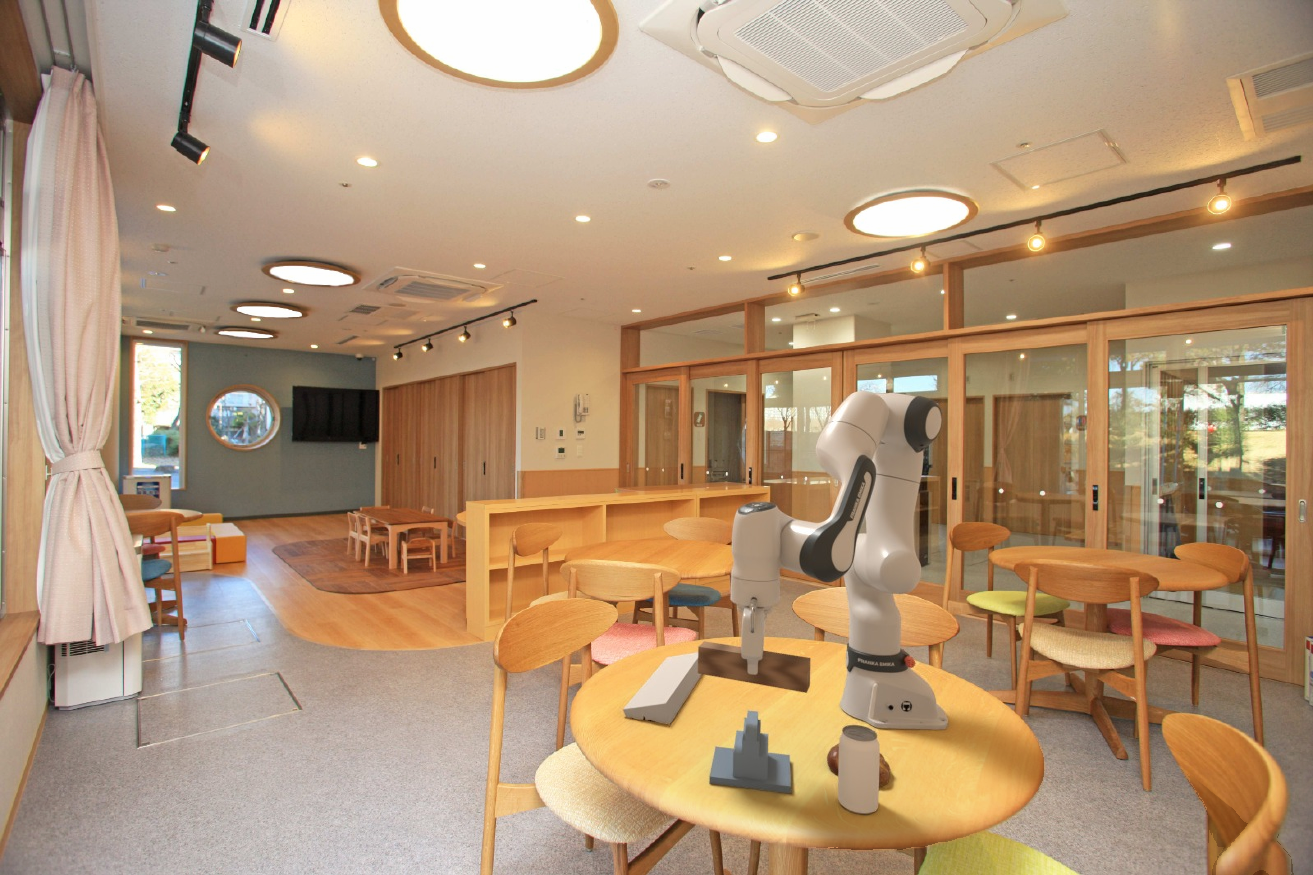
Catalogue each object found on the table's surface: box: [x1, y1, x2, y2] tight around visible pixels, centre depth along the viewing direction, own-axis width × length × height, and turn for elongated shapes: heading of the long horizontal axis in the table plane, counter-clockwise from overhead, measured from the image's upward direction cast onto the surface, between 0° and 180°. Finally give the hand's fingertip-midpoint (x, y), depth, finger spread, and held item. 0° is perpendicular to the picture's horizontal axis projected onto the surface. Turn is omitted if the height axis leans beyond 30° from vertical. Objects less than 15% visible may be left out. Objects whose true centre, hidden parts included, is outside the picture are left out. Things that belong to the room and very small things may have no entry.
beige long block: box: [622, 651, 703, 725], centre depth 150 cm, size 34×5×10 cm
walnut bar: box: [697, 640, 812, 694], centre depth 114 cm, size 20×3×5 cm, turn 67°
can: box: [837, 724, 881, 815], centre depth 105 cm, size 6×6×12 cm
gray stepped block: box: [708, 710, 792, 794], centre depth 114 cm, size 14×11×9 cm
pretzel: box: [826, 743, 891, 787], centre depth 116 cm, size 12×11×4 cm
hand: (753, 667), depth 114 cm, fingers closed on walnut bar, 4 cm apart
